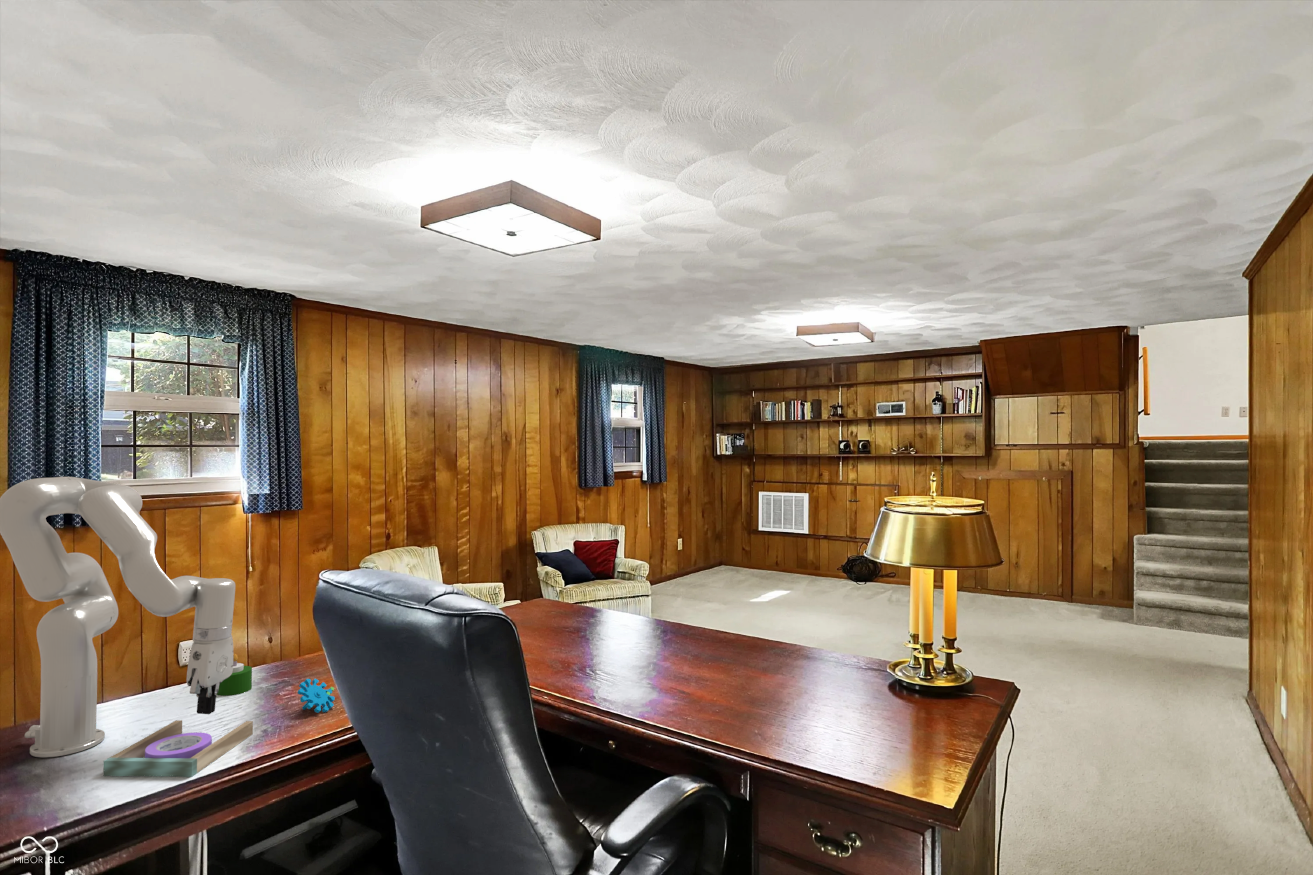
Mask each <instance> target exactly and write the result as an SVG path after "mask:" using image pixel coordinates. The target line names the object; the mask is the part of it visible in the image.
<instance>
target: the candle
mask: <svg viewBox="0 0 1313 875" xmlns="http://www.w3.org/2000/svg"><path fill="white" fill-rule="evenodd" d="M238 659H239V657H238V654H236V653H233V672H232V674H231V675H230V676H229V677H228V678H226V679H224V680H223V681H222V682H221V683H220V685H219V689H218V693H217V694H216V696H221V697H231V696H237V695H241V694H245V693H247V692H249V691H251V690H252V688H253V687H252V686H253V684H252V683H253V681H252V680H253V667H252V666H250V665H245V664H244V663H241V662H238ZM244 692H245V693H244Z"/></svg>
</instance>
